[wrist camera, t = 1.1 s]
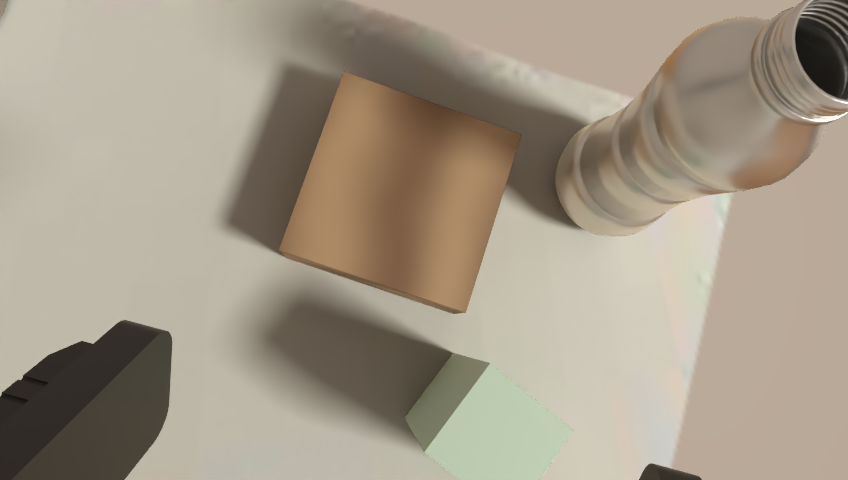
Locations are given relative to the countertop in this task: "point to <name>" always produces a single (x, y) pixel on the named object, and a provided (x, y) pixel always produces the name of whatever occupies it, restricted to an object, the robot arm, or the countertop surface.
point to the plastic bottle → (712, 119)
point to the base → (401, 195)
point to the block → (485, 424)
